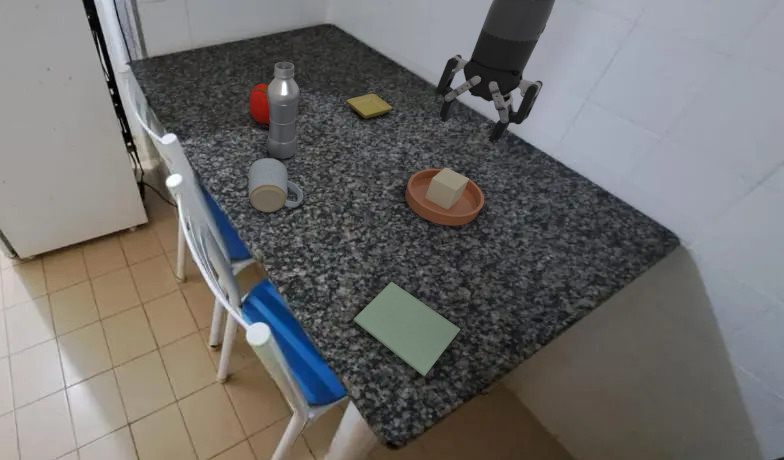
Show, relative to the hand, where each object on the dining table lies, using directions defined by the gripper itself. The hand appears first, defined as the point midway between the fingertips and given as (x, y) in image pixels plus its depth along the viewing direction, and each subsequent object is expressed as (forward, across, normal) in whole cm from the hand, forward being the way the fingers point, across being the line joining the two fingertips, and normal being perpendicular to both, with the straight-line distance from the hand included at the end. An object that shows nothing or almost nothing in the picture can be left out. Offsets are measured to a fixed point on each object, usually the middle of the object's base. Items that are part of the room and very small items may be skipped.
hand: (468, 129), depth 66 cm
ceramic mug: (+16, -23, -24) cm, 36 cm away
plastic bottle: (+16, -33, -12) cm, 38 cm away
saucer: (+16, -30, +18) cm, 39 cm away
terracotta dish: (+16, 0, 0) cm, 16 cm away
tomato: (+16, -44, -3) cm, 47 cm away
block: (+15, 0, 0) cm, 15 cm away
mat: (+16, +11, -29) cm, 35 cm away
